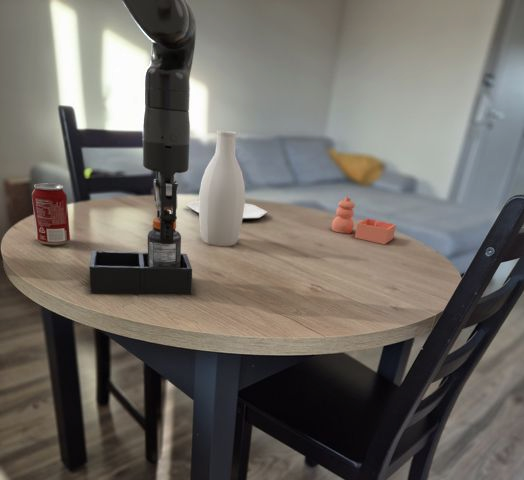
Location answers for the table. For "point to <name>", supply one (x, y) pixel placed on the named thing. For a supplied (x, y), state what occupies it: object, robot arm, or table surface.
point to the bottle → (222, 194)
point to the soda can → (51, 214)
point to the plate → (248, 212)
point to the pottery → (362, 225)
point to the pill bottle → (163, 248)
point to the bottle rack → (137, 274)
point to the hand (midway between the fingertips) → (164, 236)
